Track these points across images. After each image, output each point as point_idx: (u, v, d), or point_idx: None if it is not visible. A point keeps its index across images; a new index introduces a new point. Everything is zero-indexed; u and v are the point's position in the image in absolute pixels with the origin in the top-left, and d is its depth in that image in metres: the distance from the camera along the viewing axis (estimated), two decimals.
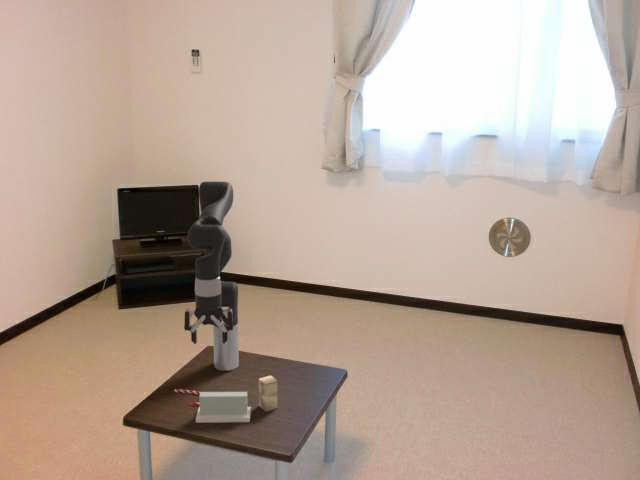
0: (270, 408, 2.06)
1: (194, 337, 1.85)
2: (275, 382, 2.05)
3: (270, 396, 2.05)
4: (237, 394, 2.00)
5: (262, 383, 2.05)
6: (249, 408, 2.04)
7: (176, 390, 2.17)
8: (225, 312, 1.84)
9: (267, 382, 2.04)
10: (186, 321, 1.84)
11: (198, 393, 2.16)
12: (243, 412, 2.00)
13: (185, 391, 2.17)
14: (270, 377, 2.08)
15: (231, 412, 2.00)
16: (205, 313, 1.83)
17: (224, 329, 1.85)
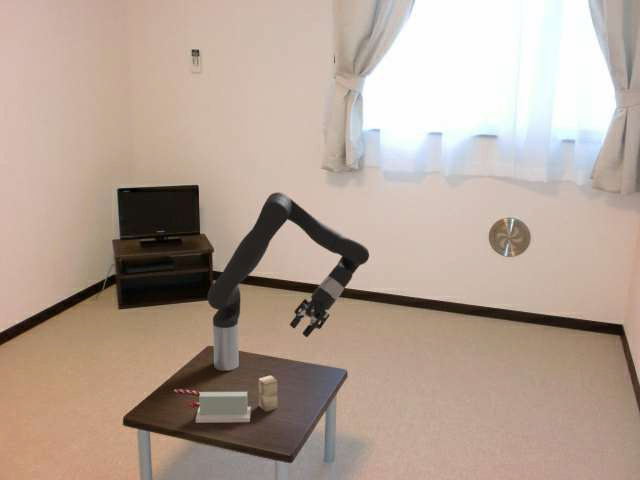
0: (270, 408, 2.06)
1: None
2: (275, 382, 2.05)
3: (270, 396, 2.05)
4: (237, 394, 2.00)
5: (262, 383, 2.05)
6: (249, 408, 2.04)
7: (176, 390, 2.17)
8: None
9: (267, 382, 2.04)
10: None
11: (198, 393, 2.16)
12: (243, 412, 2.00)
13: (185, 391, 2.17)
14: (270, 377, 2.08)
15: (231, 412, 2.00)
16: None
17: None
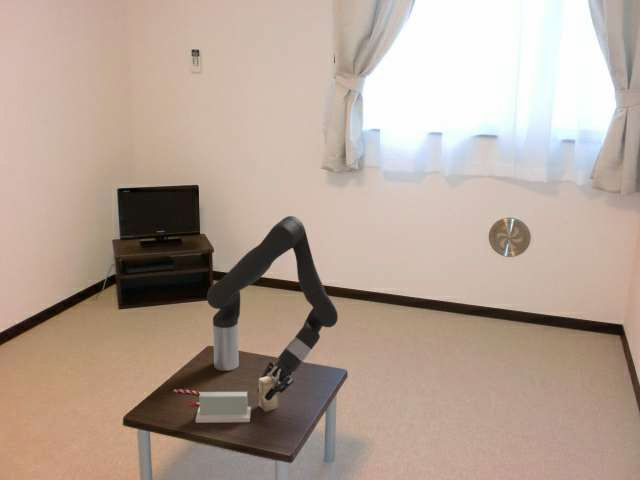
0: (270, 408, 2.06)
1: None
2: None
3: None
4: (237, 394, 2.00)
5: (262, 383, 2.05)
6: (249, 408, 2.04)
7: (176, 390, 2.17)
8: None
9: (267, 382, 2.04)
10: None
11: (198, 393, 2.16)
12: (243, 412, 2.00)
13: (185, 391, 2.17)
14: (270, 377, 2.08)
15: (231, 412, 2.00)
16: None
17: None
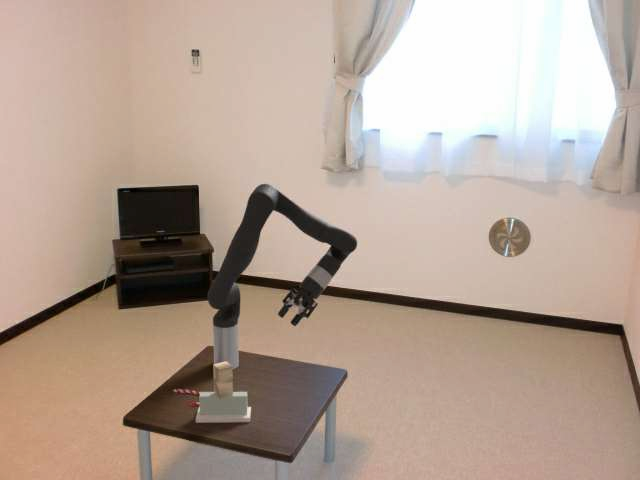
0: (225, 395, 1.98)
1: None
2: (230, 368, 1.97)
3: (225, 382, 1.97)
4: (237, 394, 2.00)
5: (216, 369, 1.96)
6: (249, 408, 2.04)
7: (175, 390, 2.17)
8: None
9: (221, 368, 1.96)
10: None
11: (198, 393, 2.16)
12: (243, 412, 2.00)
13: (184, 391, 2.17)
14: (225, 363, 1.99)
15: (231, 412, 2.00)
16: None
17: None
